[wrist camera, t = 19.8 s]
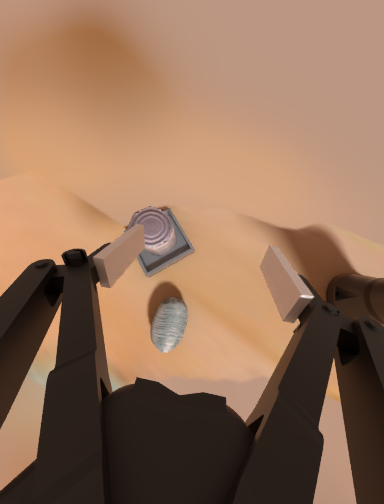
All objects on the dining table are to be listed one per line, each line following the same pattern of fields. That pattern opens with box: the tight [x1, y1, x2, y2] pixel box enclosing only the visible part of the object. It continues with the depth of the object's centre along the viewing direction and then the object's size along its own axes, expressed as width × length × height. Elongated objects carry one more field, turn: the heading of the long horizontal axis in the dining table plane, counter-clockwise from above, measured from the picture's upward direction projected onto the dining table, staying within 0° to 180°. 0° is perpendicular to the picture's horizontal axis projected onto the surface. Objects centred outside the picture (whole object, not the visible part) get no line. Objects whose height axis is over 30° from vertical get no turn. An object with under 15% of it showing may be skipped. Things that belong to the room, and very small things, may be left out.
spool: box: [150, 297, 188, 353], centre depth 41 cm, size 14×10×10 cm
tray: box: [124, 208, 194, 277], centre depth 49 cm, size 17×17×4 cm
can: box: [127, 206, 177, 257], centre depth 44 cm, size 11×11×12 cm
